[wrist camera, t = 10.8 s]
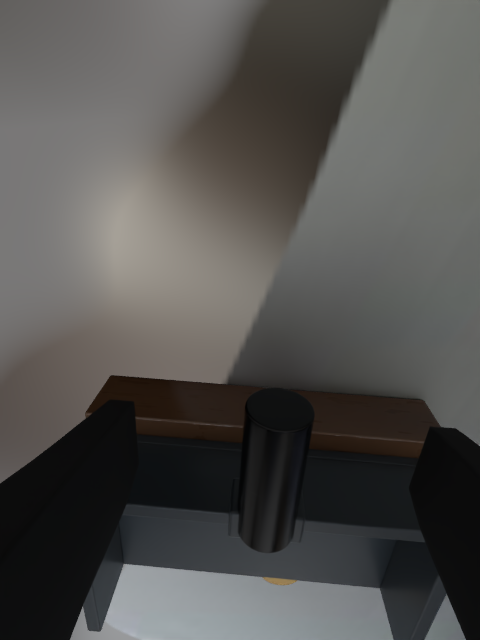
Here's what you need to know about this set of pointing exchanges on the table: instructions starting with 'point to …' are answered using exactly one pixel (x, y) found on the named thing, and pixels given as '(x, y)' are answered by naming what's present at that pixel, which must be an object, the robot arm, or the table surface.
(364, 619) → the table surface
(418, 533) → the dark grey tray
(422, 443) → the stand
